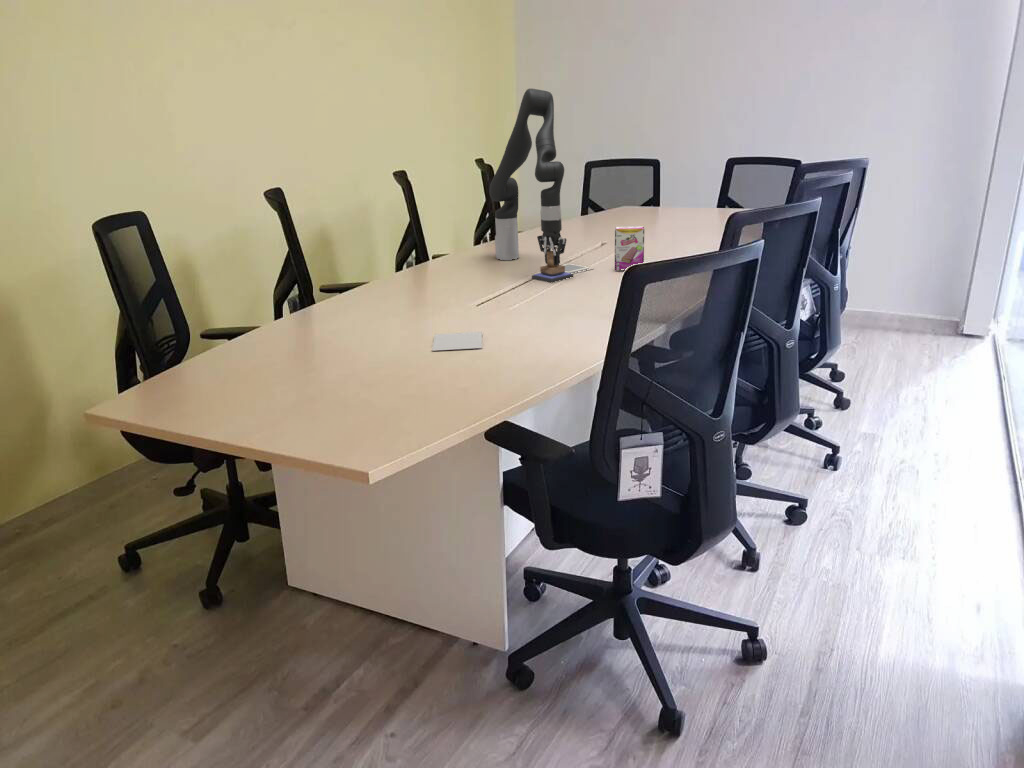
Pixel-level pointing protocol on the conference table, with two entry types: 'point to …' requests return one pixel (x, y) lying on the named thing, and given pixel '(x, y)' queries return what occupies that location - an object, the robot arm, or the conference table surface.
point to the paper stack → (457, 341)
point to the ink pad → (551, 277)
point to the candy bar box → (628, 246)
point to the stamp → (551, 266)
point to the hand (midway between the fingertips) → (552, 264)
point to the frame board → (574, 268)
